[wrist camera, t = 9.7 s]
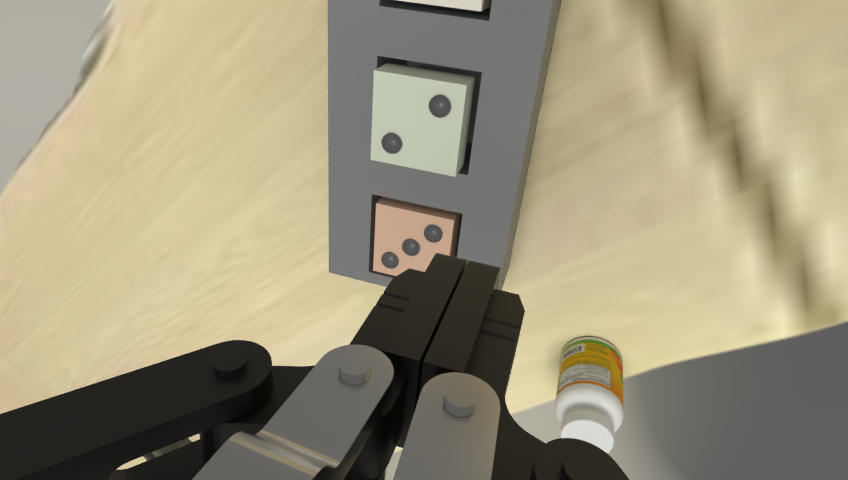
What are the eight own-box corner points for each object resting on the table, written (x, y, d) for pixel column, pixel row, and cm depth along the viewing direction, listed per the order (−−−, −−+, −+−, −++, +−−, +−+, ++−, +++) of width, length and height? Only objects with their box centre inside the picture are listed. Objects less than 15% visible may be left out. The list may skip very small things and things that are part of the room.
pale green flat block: (478, 73, 36) (465, 86, 32) (467, 158, 39) (454, 178, 35) (392, 59, 37) (372, 70, 34) (388, 143, 40) (369, 160, 37)
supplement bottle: (614, 387, 51) (614, 472, 42) (556, 372, 52) (545, 453, 44) (629, 343, 48) (632, 425, 40) (567, 328, 49) (558, 405, 41)
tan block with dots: (465, 200, 42) (453, 221, 39) (456, 265, 45) (444, 289, 42) (392, 185, 43) (375, 204, 40) (388, 249, 46) (372, 271, 43)
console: (585, -124, 33) (579, -138, 27) (508, 268, 48) (493, 314, 42) (373, -140, 36) (327, -156, 30) (361, 234, 51) (329, 272, 45)
